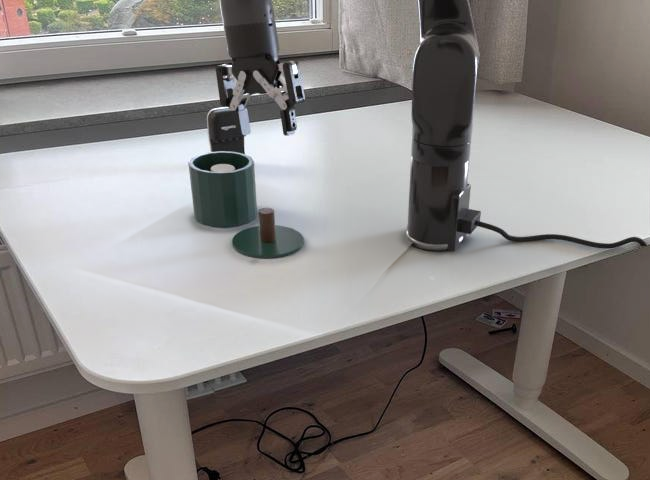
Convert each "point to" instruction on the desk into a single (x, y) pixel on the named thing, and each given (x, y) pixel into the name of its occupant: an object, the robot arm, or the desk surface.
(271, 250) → the lid
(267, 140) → the desk surface
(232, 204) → the tin
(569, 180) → the desk surface
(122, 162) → the desk surface
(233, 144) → the battery charger
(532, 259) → the desk surface
